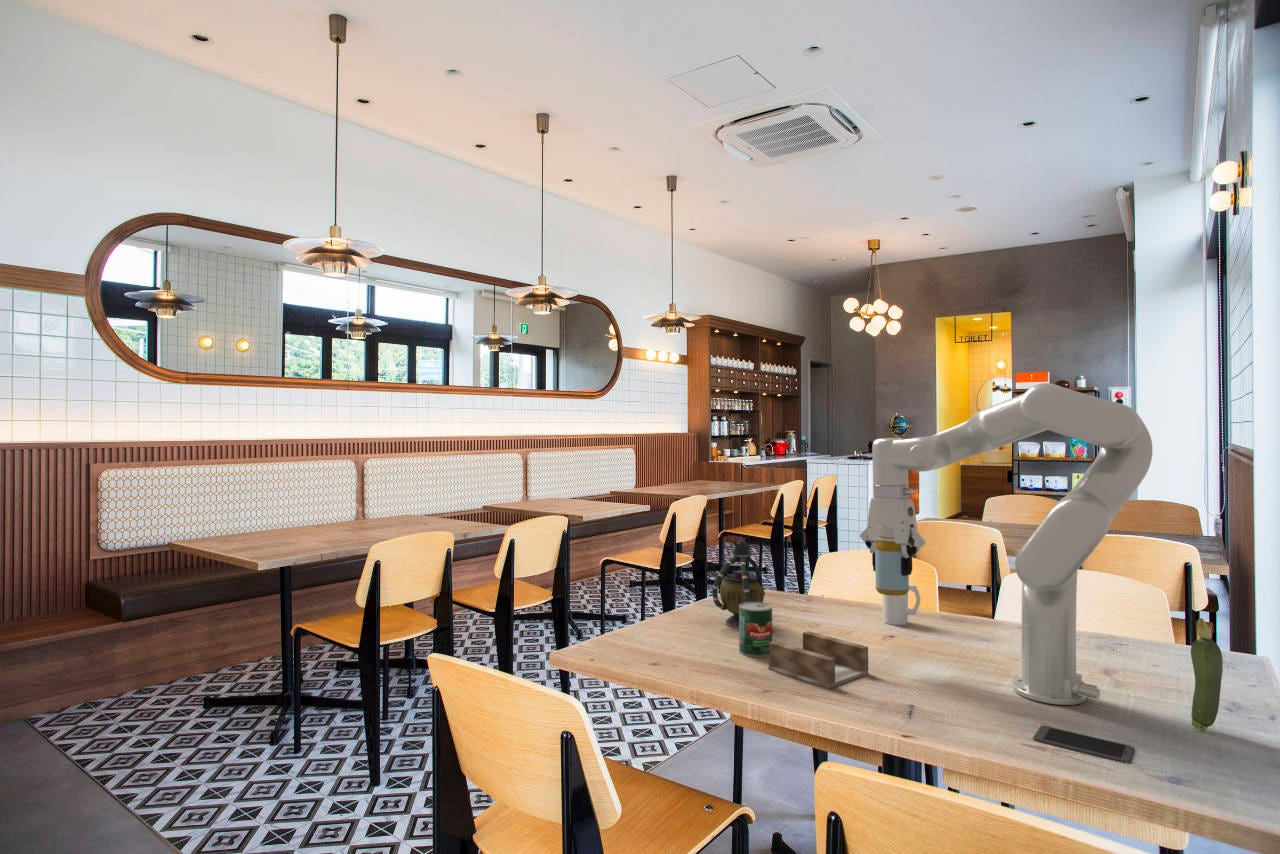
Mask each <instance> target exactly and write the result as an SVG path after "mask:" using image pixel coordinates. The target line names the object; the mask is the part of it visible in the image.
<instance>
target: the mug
mask: <svg viewBox="0 0 1280 854" xmlns="http://www.w3.org/2000/svg"><path fill="white" fill-rule="evenodd" d="M917 587H918V586H917V585H916V584H911V585H909V591H911V592H913V593H914V595H915V599H916V600H915V604H914V607H913V608H909V605H908V604H909V592H908V593H907V594H905V595H901V596H892V595H884V594H882V619H883V623H884V624H888V625H890V626H906V625H907V624H908V621H909V620H908V617H909V615H912V616H914V615H916V614H917V612H918V610H919V608H920V605H921V595H920V591H919V589H918V588H917Z"/></svg>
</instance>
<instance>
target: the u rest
mask: <svg viewBox="0 0 1280 854" xmlns="http://www.w3.org/2000/svg"><path fill="white" fill-rule="evenodd" d="M768 669H769V670H772V671H775V672H777V673H780V674H784V675H787V676H789V677H792V678H796V679H798V680H802V681H804V682H808V683H811V684H813V685H817V686H820V687H822V688H826V689H832V688H835V687H837V686H841V685H842V684H846V683H848V682H850V681H853V680H856V679H858V678H860V677H864V676H866V675H868V674H869V646H866V645H864V644H863V645H862V644H858V643H854V642H851V641H847V640H844V639H840V638H836V637H831V636H829V635H825V634H820V633H817V632H813V631H809V630H807V631H804V632H802V647H801V648H800V647H797V646H794V645H790V644H787V643H783V642H780V641H777V640H772V642H769V656H768Z"/></svg>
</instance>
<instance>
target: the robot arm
mask: <svg viewBox="0 0 1280 854" xmlns="http://www.w3.org/2000/svg"><path fill="white" fill-rule="evenodd" d="M1045 431H1049V432H1052V433H1056V434H1059V435H1063V436H1066V437H1067V438H1071V439H1075V440H1078V441H1080V442H1085V443H1088V444H1090V445H1094V446H1097V447H1099V451H1098V453H1097V456H1096V458H1095V459H1094V461H1093V462H1092V463H1091V464H1090V466H1089V467H1088V468H1087V469H1086V471H1085V472H1084V474H1083V475H1082V477H1081V478H1080V479H1079V480H1078V482H1076V484H1075V486H1074V487H1073V488H1072V489H1071V490H1070V491H1069V493H1067V494H1066V495H1064V497H1062V498H1061V499H1060V500H1058V501H1057V503H1055V504H1054V506H1053V507H1052V508H1051V509H1050V510H1049V512H1048V513H1047V514H1046V516H1045V517H1044V518H1043V519H1042V521H1041V522H1040V524H1039V525H1038V526H1037V527H1036V529H1035V530H1034V531H1033V533H1031V535H1030V536H1029V537H1028V539H1027V540H1026V542H1025V543H1024V544H1023V545H1022V547H1021V548H1020V549H1019V551H1018V552H1017V554H1016V556H1015V561H1014V567H1015V573H1016V575H1017V577H1018V578H1019V580H1020V581H1021V583H1022V584H1021V585H1022V586H1021V678H1017V679H1015V680H1014V681H1013V683H1012V684H1013V686H1012V687H1013V690H1014V691H1015V692H1016V693H1017V694H1019V695H1020V696H1022V697H1024V698H1027V699H1030V700H1032V701H1036V702H1040V703H1045V704H1050V705H1057V706H1058V705H1059V706H1073V705H1074V706H1075V705H1080V704H1083V703H1084V702H1085V701H1086V699H1087V697H1088V698H1091V699H1096V700H1099V699H1100V697H1101V689H1100V688H1098V685H1095V684H1091V683H1086V682H1084V680H1082V678H1083V676H1082V674H1081V673H1077V594H1078V593H1077V591H1078V585H1077V584H1078V570H1080V568H1081V567H1082V565H1083V564H1084V563H1085V562H1086V561H1087V559H1088V558H1089V556H1090V555H1092V553H1093V552H1094V550H1095V549H1096V548H1097V547H1098V546H1099V544H1100V543H1101V542H1102V540H1103V539H1104V538H1105V536H1106V535H1107V534H1108V532H1109V529H1110V528H1111V525H1112V522H1113V520H1115V518H1116V516H1117V515H1118V514H1119V512H1120V511H1121V510H1122V508H1123V507H1124V506H1125V505H1126V504H1127V502H1128V501H1129V499H1131V497H1132V496H1133V493H1135V491H1136V490H1137V489H1138V488H1139V487H1140V484H1141V483H1142V482H1143V480H1144V478H1145V477H1146V475H1147V474H1148V472H1149V469H1150V466H1151V463H1152V459H1153V441H1152V438H1151V435H1150V432H1149V429H1148V428H1147V425H1146V424H1145V423H1144V421H1143V420H1142V418H1141V416H1140V415H1139V414H1138V413H1137V412H1136V410H1134V409H1133V408H1132V407H1130V406H1129V405H1126V404H1123V403H1119V402H1116V401H1112V400H1108V399H1104V398H1101V397H1098V396H1094V395H1090V394H1087V393H1083V392H1079V391H1077V390H1073V389H1070V388H1067V387H1064V386H1061V385H1058V384H1055V383H1051V382H1047V383H1046V382H1043V383H1039V384H1035V385H1033V386H1031V387H1030V388H1029V389H1027V390H1026V392H1024V393H1021V394H1018V395H1017V396H1014V397H1012V398H1009V399H1007V400H1004V401H1002V402H999V403H996V404H994V405H991V406H989V407H985V408H983V409H981V410H980V411H977V412H976V413H975V414H973V415H972V416H971V417H970V418H969V419H968V420H966V421H964V422H962V423H960V424H958V425H956V426H953V427H951V428H948V429H946V430H943V431H941V432H938V433H935V434H932V435H930V436H918V437H913V438H912V437H910V438H905V439H904V438H901V437H883V438H882V437H881V438H876V439H874V440H873V442H872V450H871V451H872V495H873V496H872V498H870V502H869V508H868V515H867V517H868V518H867V527H866V528H865V529H864V530H863V531H862V532H861V533H860V535H859V537H860V539H861V540H862V541H863V542H864V544H865V545H866V547H867V549H869V552H870V554H872V559H871V560H872V562H871V563H872V564H871V565H872V567H873V569H872V570H873V571H874V572H876V571H875V545H876V543H877V541H878V539H877V537H878V535H877V532H878V526H881V527H890V528H893V529H894V537H895V538H894V539H895V542H896V543H897V544H899V545H901V552H902V554H903V556H904V557H902V558H901V574H902V576H907V575H910V576H911V575H912V571H913V557H914V556H915V554H917V553H918V552H919V551H920V550H921V549H922V548H923V546H925V545H926V540H925V539H924V538H923V537H922V536H921V534H920V533H918V523H917V515H916V510H915V505H914V501H913V499H910V496H911V495H912V496H913V494H914V489H913V488H910V486H909V471H914V472H920V473H921V472H924V473H925V472H929V471H933V470H934V471H935V470H938V469H942V468H944V467H947V466H951V465H953V464H955V463H958V462H960V461H963V460H966V459H968V458H971V457H973V456H976V455H980V454H982V453H986V452H990V451H991V452H992V451H993V450H997V449H999V448H1002V447H1005V446H1007V445H1010V444H1013V443H1015V442H1018V441H1021V440H1023V439H1026V438H1029V437H1031V436H1034V435H1037V434H1040V433H1042V432H1045ZM912 544H913V545H912ZM906 546H907V548H906Z"/></svg>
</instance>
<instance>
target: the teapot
mask: <svg viewBox="0 0 1280 854" xmlns="http://www.w3.org/2000/svg"><path fill="white" fill-rule="evenodd" d="M730 542H731V543H733V544H734V548H733V550H732V552H731V553H732V557H730V558H729V559H728V560H727V561H726V562H725V564H724V565H723V566H722V568H721V569H720V570H719V572H718V573H717V576H716V577H715V580H714V583H713V585H712V589H711V592H712V593H711V595H712V599H713V603H714V605H715V606H716V607H717V608H719V609H721V610H722V611H726V610H727V611H728V612H729V613H730V614H733V615H731V616H729V617H728V619H726V620H725V621H724V622H725V625H726V626H727V627H730V628H734V629H739V605H740V604H742V603H745V602H762V603H764V599H765V596H766V592H765V588H764V584H763V577H762V572H761V571H760V570H761V569H760V567H759V565H758V564H757V563H756V561H755V560H753V559H752V558H751V557H752V551H751V548H750V546H749V544H748V543H747V542H746V541H745V539H743V538H741V539H740V540H738V541H737V542H736V541H735V540H731V541H730ZM735 563H740V570H736V571H734V573H729V568H730V567H731V566H732V565H733V564H735ZM746 563H750V564H751V565H752V567H753V569H754V571H755V574H751V573H750V572H749V571H748V570H747V564H746ZM721 580H722V581H721ZM719 585H720V586H719ZM718 589H719V595H720V600H721V601H720V600H719V595H718Z"/></svg>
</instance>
